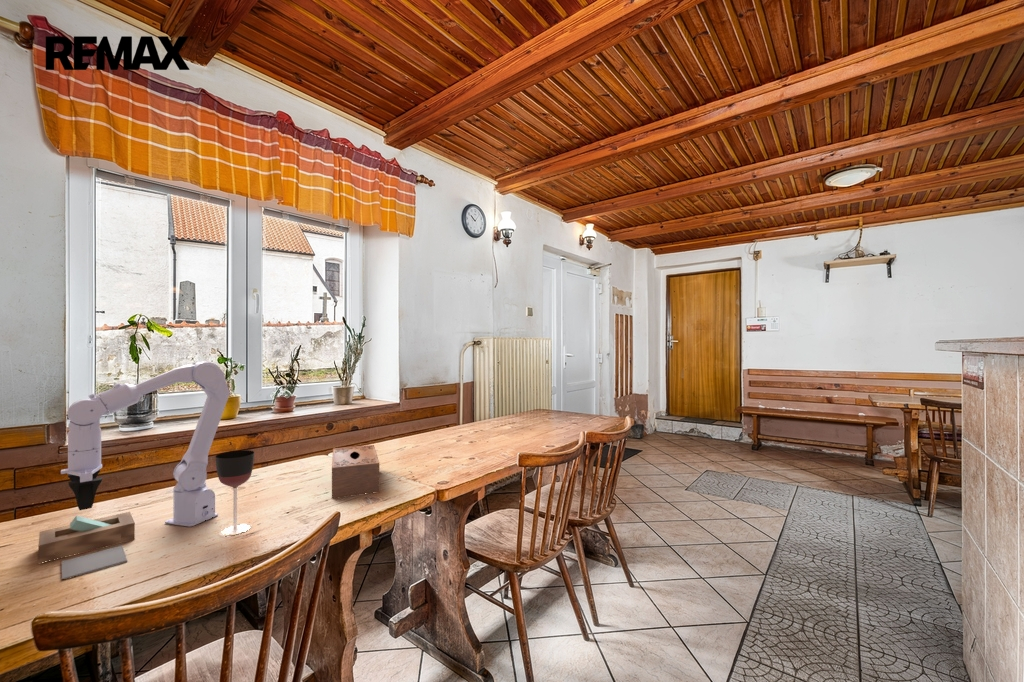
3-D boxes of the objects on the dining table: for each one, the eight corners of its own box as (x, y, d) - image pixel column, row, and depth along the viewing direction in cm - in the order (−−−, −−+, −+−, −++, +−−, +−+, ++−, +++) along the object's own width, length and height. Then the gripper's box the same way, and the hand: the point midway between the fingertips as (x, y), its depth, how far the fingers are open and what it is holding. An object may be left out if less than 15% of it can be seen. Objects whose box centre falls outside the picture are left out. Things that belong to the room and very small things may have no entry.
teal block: (112, 534, 107) (118, 526, 108) (113, 539, 104) (119, 530, 105) (69, 523, 102) (76, 515, 102) (70, 528, 99) (76, 520, 100)
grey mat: (122, 547, 101) (122, 545, 101) (127, 561, 94) (127, 560, 94) (61, 563, 94) (61, 561, 94) (61, 580, 87) (61, 578, 87)
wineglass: (226, 523, 114) (226, 450, 114) (260, 522, 115) (260, 449, 115) (208, 537, 106) (208, 458, 106) (244, 536, 107) (244, 458, 107)
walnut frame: (129, 527, 112) (129, 511, 112) (134, 539, 105) (134, 522, 105) (39, 549, 100) (39, 531, 100) (38, 564, 93) (38, 545, 93)
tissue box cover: (333, 475, 156) (333, 448, 156) (373, 470, 162) (373, 444, 162) (331, 499, 133) (331, 467, 133) (379, 493, 138) (379, 462, 138)
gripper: (60, 446, 104) (60, 501, 104) (61, 457, 94) (60, 518, 94) (100, 441, 109) (100, 493, 109) (104, 451, 99) (104, 509, 99)
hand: (84, 504), depth 102 cm, fingers open, 7 cm apart
